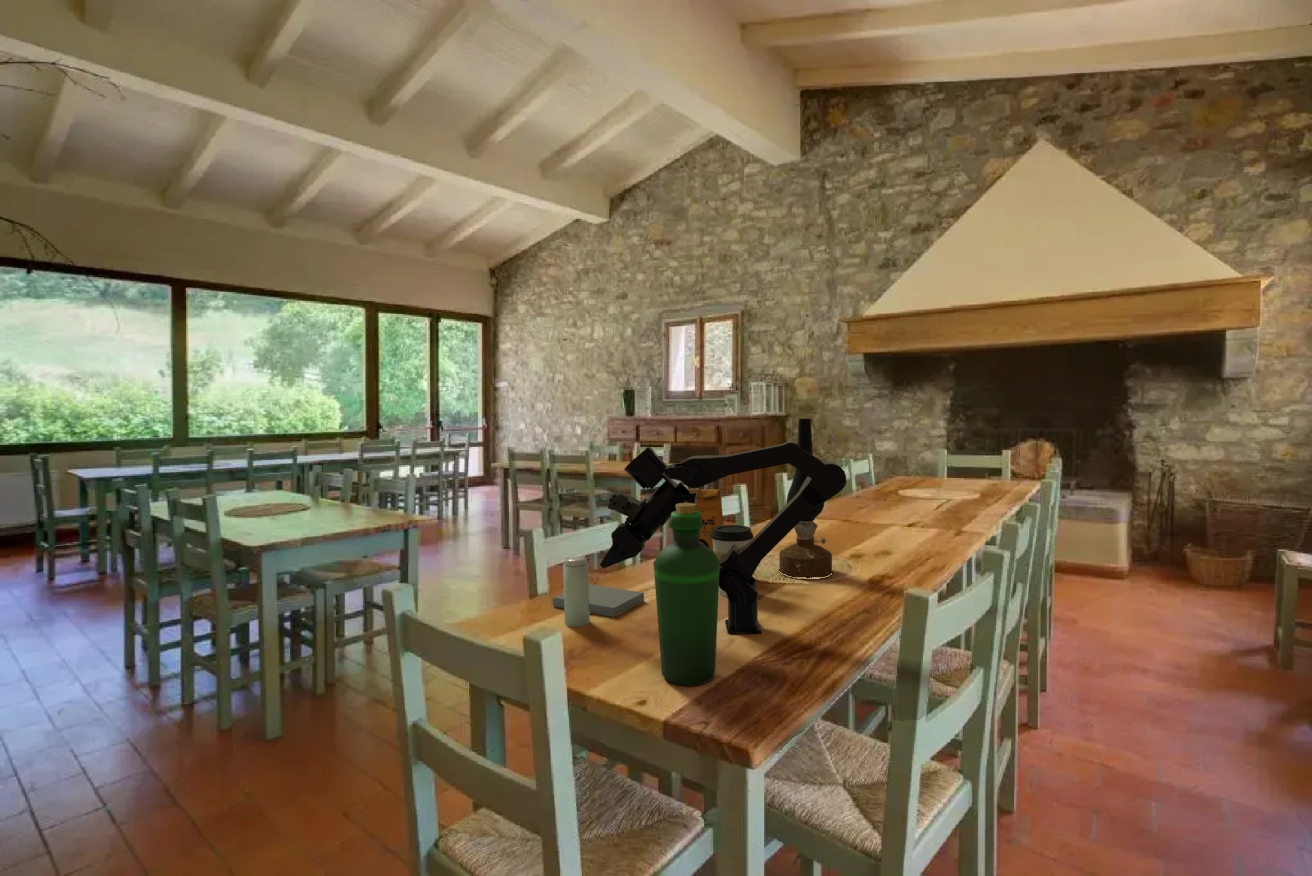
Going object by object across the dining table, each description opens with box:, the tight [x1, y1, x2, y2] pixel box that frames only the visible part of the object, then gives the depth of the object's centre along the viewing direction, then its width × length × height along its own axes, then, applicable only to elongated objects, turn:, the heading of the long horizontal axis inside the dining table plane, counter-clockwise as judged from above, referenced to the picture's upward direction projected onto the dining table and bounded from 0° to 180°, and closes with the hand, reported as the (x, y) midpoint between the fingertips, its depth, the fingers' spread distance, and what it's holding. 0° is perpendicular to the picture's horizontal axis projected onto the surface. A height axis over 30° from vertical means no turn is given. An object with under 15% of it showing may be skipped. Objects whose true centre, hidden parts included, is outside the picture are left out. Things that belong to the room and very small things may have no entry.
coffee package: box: [685, 488, 725, 550], centre depth 167 cm, size 10×12×22 cm
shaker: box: [562, 556, 591, 628], centre depth 132 cm, size 5×5×13 cm
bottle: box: [653, 503, 720, 687], centre depth 105 cm, size 11×11×28 cm
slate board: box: [552, 583, 645, 618], centre depth 144 cm, size 16×12×2 cm
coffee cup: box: [710, 524, 755, 598], centre depth 150 cm, size 10×10×15 cm
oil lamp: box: [777, 418, 834, 578], centre depth 163 cm, size 14×15×40 cm
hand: (606, 560), depth 131 cm, fingers open, 9 cm apart
